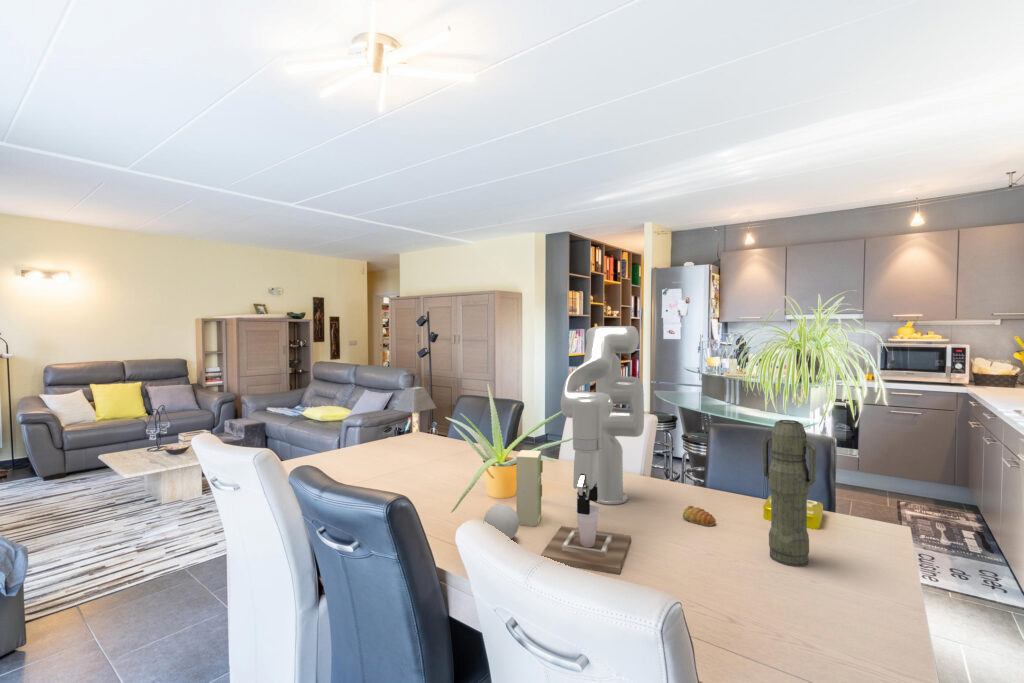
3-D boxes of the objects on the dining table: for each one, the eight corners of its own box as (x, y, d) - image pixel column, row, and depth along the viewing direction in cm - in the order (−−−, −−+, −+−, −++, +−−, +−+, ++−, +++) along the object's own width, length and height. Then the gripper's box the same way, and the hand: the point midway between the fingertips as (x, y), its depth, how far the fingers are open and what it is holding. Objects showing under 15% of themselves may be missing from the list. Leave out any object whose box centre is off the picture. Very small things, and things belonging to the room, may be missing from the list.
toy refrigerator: (540, 527, 148) (539, 457, 147) (516, 525, 149) (515, 456, 149) (544, 517, 155) (543, 450, 155) (521, 515, 157) (520, 449, 156)
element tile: (770, 506, 164) (770, 491, 164) (823, 515, 155) (823, 500, 155) (762, 520, 152) (762, 505, 152) (819, 532, 143) (819, 515, 143)
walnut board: (561, 530, 144) (561, 521, 144) (631, 540, 137) (631, 531, 137) (540, 560, 126) (540, 550, 126) (619, 574, 119) (619, 563, 118)
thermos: (812, 572, 119) (812, 427, 118) (758, 557, 126) (758, 421, 125) (819, 559, 125) (819, 421, 124) (768, 546, 133) (768, 416, 132)
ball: (524, 536, 141) (524, 501, 141) (510, 551, 132) (510, 513, 132) (493, 531, 145) (493, 497, 145) (477, 544, 136) (476, 508, 136)
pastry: (720, 524, 149) (720, 511, 149) (707, 529, 145) (707, 516, 145) (693, 514, 156) (693, 502, 156) (680, 519, 153) (680, 507, 153)
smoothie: (573, 539, 135) (572, 488, 134) (596, 538, 135) (596, 487, 135) (578, 550, 128) (578, 496, 128) (602, 549, 129) (602, 495, 129)
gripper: (580, 435, 140) (581, 494, 141) (564, 450, 124) (565, 517, 125) (607, 436, 138) (607, 497, 138) (594, 453, 122) (594, 521, 122)
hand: (587, 506), depth 132 cm, fingers open, 9 cm apart
